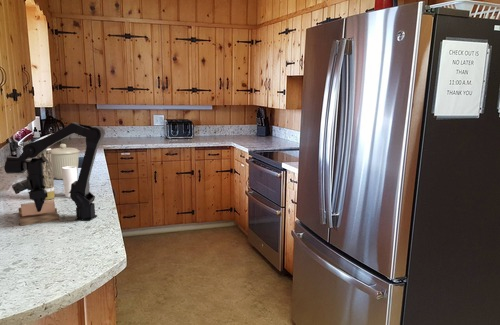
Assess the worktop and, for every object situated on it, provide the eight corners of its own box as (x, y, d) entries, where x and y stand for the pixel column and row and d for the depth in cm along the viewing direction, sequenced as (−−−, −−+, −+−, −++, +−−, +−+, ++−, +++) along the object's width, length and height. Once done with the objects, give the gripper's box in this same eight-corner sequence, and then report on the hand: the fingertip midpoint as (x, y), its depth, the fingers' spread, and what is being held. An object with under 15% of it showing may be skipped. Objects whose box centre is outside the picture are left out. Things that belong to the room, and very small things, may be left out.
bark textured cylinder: (51, 196, 195) (47, 147, 191) (57, 198, 191) (53, 148, 186) (36, 198, 190) (32, 148, 185) (43, 201, 186) (38, 150, 181)
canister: (73, 181, 227) (70, 146, 223) (42, 180, 227) (39, 145, 223) (86, 175, 245) (84, 142, 241) (58, 174, 245) (55, 141, 241)
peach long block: (54, 209, 164) (53, 200, 163) (55, 211, 161) (54, 202, 160) (21, 213, 158) (20, 204, 157) (22, 216, 154) (21, 206, 154)
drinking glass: (62, 198, 191) (60, 168, 188) (65, 195, 197) (63, 166, 195) (77, 197, 193) (75, 168, 190) (79, 194, 199) (77, 165, 196)
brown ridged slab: (54, 208, 175) (54, 203, 174) (59, 220, 159) (59, 214, 159) (18, 213, 167) (18, 207, 167) (20, 225, 152) (19, 219, 152)
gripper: (11, 171, 160) (15, 207, 163) (12, 179, 144) (16, 219, 147) (42, 168, 166) (45, 203, 169) (45, 176, 150) (49, 215, 153)
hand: (38, 210), depth 159 cm, fingers closed on peach long block, 4 cm apart
